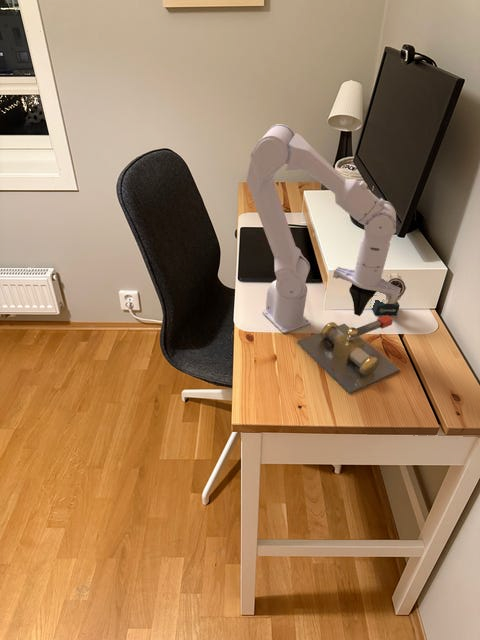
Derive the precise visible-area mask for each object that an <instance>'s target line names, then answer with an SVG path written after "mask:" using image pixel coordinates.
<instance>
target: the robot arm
mask: <svg viewBox="0 0 480 640" xmlns="http://www.w3.org/2000/svg"><path fill="white" fill-rule="evenodd" d="M249 156H250V161H249V165H248V170H247V177H246V184H247V187H248V190H249V193H250V196H251V198H252V201H253V204H254V207H255V209H256V211H257V214H258V217H259V219H260V222H261V225H262V227H263V231H264V234H265V236H266V238H267V241H268V244H269V246H270V249H271V252H272V254H273V257H274V259H273V260H274V275H275V277H276V278H275V280H273V281H272V282H271V283H270V284H269V286H268V288H267V291H266V301H265V309H264V310H262V312H261V313H262V314H263V315H264V316H265V317H266V318H267V319H268V320H269V321H270V322H271V323H272V324H273V325H274V326H275V327H276V328H277V329H278V330H280V332H281V333H283V334H285V333H289V332H291V331H295V330H297V329H300V328H303V327H305V326H309V325H310V324H311V321H310V320H309V319H307V318H306V316H305V315H304V313H305V307H306V303H307V302H306V301H307V295H308V287H307V284H306V281H307V278H308V275H309V273H310V270H311V265H310V262H309V261H308V260H307V258H306V257H304V255H303V253H302V252H301V251H302V250H301V249H300V248H299V247H297V246H296V243H295V241H294V238H293V237H294V236H293V234H292V231H291V228H290V225H289V223H288V219H287V217H286V216H287V215H286V214H285V210H284V208H283V205H282V202H281V198H280V196H279V192H278V189H277V188H276V187H277V186H276V185H275V181H274V178H275V177H276V174H277V173H278V172H279V170H281V169H282V168H283V166H284V165H287V166H286V168H285V170H286V171H299V170H300V171H304V172H305V173H307V174H308V175H309V176H310V177H312V178H313V179H314V180H316V181H317V182H319V184H321V185H322V186H324V187H325V188H327V190H329V191H330V192H332V193H333V194H334V201H335V204H336V205H337V206H339V208H341V209H343V210H344V211H345V212H346V213H347V214H348V215H349V216H351V217H352V218H353V219H354V220H355V221H357V222H358V223H359V224H361V225H362V226H364V227H363V228H364V233H363V237H361V240H360V245H359V249H358V253H357V254H358V255H357V259H356V263H355V269H350V268H345V267H341V266H337V267H336V268H335V269H334V271H333V274H332V277H333V278H335V279H336V280H337V279H341V280H344V281H347V282H350V283H351V286H350V287H349V290H348V293H349V294H350V295H351V298H352V304H353V315H355V316H357V317H360V316H361V315H362V314H363V313H364V311H365V309H366V306H367V305H368V303H369V302H370V300H372V297H373V296H375V294H376V293H379V294H380V293H383V294H386V295H388V296H391V298H392V299H395V300H396V299H397V297H398V296H399V293H400V290H401V288H399V287H396V286H394V285H392V284H391V283H389V282H387V281H385V280H384V279H382V275H383V273H384V268H385V265H386V261H387V257H388V253H389V250H390V246H391V243H390V241H391V240H392V237H393V236H394V235H395V234H396V232H397V213H396V209H395V208H394V206H393V205H392V203H391V202H390V201H388V200H385V199H383V198H382V197H380V198H379V197H378V196H376V195H375V194H374V193H373V192H371V191H370V190H369V189H368V184H367V182H365V181H364V180H361V181H358V179H356V178H351V179H349V178H348V179H347V178H345V177H344V176H343V175H342V174H341V173H340V172H339V171H338V170H337V169H335V167H333V166H332V165H331V163H329V162H328V161H327V160H326V159H325V158H324V157H323V156H322V155H321V154H320V153H318V151H317V150H316V149H315V148H313V147H312V146H311V145H310V144H309V143H308V141H307V140H306V139H304V137H303V136H302V135H300V134H299V133H298V132H296V133H295V132H294V131H293V129H292V128H291V127H289V126H288V125H286V124H284V123H283V124H282V123H277V124H275V125H272V126H271V127H269V129H267V131H266V132H265V133H264V135H263V137H262V138H260V139H259V140H258V141H257V143H256V144H255V146H254V147H253V149H252V150H251V152H250V154H249Z"/></svg>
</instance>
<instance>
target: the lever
mask: <svg viewBox="0 0 480 640" xmlns="http://www.w3.org/2000/svg"><path fill="white" fill-rule="evenodd" d="M393 322H394V318H392V316H388V315H386V316H380V317H379V318H377V319H376V320H375V321H372V322H370V323H367V324H364V325H362V326H359V327H357V328H356V327H349V329H348V334H349V335H348V341H351V342H352V341H354V338H355V337H358V336H360V337H361V336H362V335H365V334H367V333H370V332H372V331H376V330H377V329H381V330H383V329H384V328H387V327H389V326H392V325H393Z"/></svg>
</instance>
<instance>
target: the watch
mask: <svg viewBox="0 0 480 640" xmlns="http://www.w3.org/2000/svg"><path fill="white" fill-rule="evenodd" d="M386 281H387V282H389V283H391V284H392V285H394V286H396V287H399V288H401V290H400V293H399V296H398V297H397V299H396V300H395V299H392V298H391V296H388V295H386V294H385V295H386V300H384V299H383V300H382V302H380V301H379V300H375V303H374V305H373V308H371V311H372V313H373V315H374V317H375V316H377V317H379V316H380V317H383V316H386V315H388V316H390V317H392V316H393V317H397V315H398V312H399V309H400V303H399V301H400V299H401V297H402V296H403V295H404V293H405V291H406V290H407V286H406V283H405V281H404V280H403V278H402V275H400V274H399V272H398V273H395V274H394V273H393V274H389V276H387V280H386Z"/></svg>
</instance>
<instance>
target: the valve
mask: <svg viewBox="0 0 480 640" xmlns="http://www.w3.org/2000/svg"><path fill="white" fill-rule="evenodd" d="M349 328H350V327H349V326H348V325H347V324H346V323H342V324H340V325H338V324H337V323H336V322H334V321H332V322H328V323H327V324H326V325H325V326H324V327H323V328H322V329H321V332H317V333H315V334H312V335H310V336H307V337H304V338H301V339H299V340H296V342H297V345H298V346H300V347H301V349H303V351H304V352H305V353H306V354H307V355H308V356H310V358H312V359H313V360H314V362H316V363H317V365H319V366H320V367H321V368H322V369H323V370H324V371H325V372H326V373H327V374H328V375H329V376H330V377H331V378H332V379H333V380H334V381H335V382H336V383H337V384H338V385H339V386H340V387H341V388H343V389H344V390H345V391H346V392H347V394H349V395H351V394H354V393H355V392H357V391H360V390H362V389H364V388H366V387H369V386H371V385H373V384H375V383H378V382H380V381H382V380H384V379H386V378H388V377H390V376H392V375H395V374H398V373H399V372H400V371H401V369H400V368H399V367H398V366H397V365H396V364H394V363H393V362H392V361H390V359H388V358H387V357H386V356H384V355H383V354H382V353H381V352H379V351H378V349H376V348H374V347H373V345H372V344H370V343H369V342H368V341H366V340H365V339H364V338H363V337H361V335H360V336H358V337H355V338H354V341H352V342H351V341H348V335H349V334H348V329H349Z"/></svg>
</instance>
